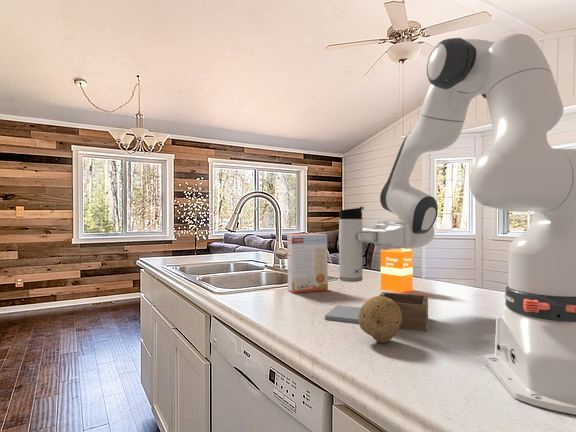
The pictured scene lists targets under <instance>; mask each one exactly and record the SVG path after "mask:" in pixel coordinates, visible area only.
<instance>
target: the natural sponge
mask: <svg viewBox="0 0 576 432" xmlns="http://www.w3.org/2000/svg"><path fill="white" fill-rule="evenodd" d="M360 308H361V309H360V312H359V323H358V324H359V327H360V329H361V330H362V331H363V332H364V333H365V334H367V335H369V336H370V337H372V339H373V340H375V341H376V342H379V343H382V344H384V343H387V342H389V341H391V340H392V339H393V338H394V337H395V335H396V334H397V332H398V331H399V329H400V328H399V327H400V325H401V322H402V314H401V310H400V308H399V306H398V305H397V304H396V303H395V302H394V301H393V300H392V299H390V298H388V297H383V296H379V295H375V296H373V297H371V298H368V299H367V300H366V301H365V302H364V303H363V304H362V306H360Z"/></svg>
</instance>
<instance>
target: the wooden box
mask: <svg viewBox="0 0 576 432" xmlns="http://www.w3.org/2000/svg"><path fill="white" fill-rule="evenodd" d="M378 296H383V297H388V298H390V299H392V300H393V301H394V302H395V303H396V304H397V305H398V306H399V308H400V310H401V314H402V322H401V325H400V327H399V329H403V330H410V331H411V330H413V331H421V332H427V329H428V328H427V327H428V322H429V295H426V294H425V295H423V294H422V295H421V294H412V293H410V294H409V293H400V292H388V291H387V292H385V291H381V293H380V294H379V295H378Z"/></svg>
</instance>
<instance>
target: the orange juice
mask: <svg viewBox="0 0 576 432" xmlns="http://www.w3.org/2000/svg"><path fill="white" fill-rule="evenodd" d="M413 262H414V261H413V249H403V248H400V249H397V250H380V290H384V291H390V292H393V293H400V294H404V293H406V292H410V291H413V286H414V284H413V279H414V278H413V277H414V276H413V274H414V271H413V270H414V269H413V268H414V267H413V264H414V263H413Z"/></svg>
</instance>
